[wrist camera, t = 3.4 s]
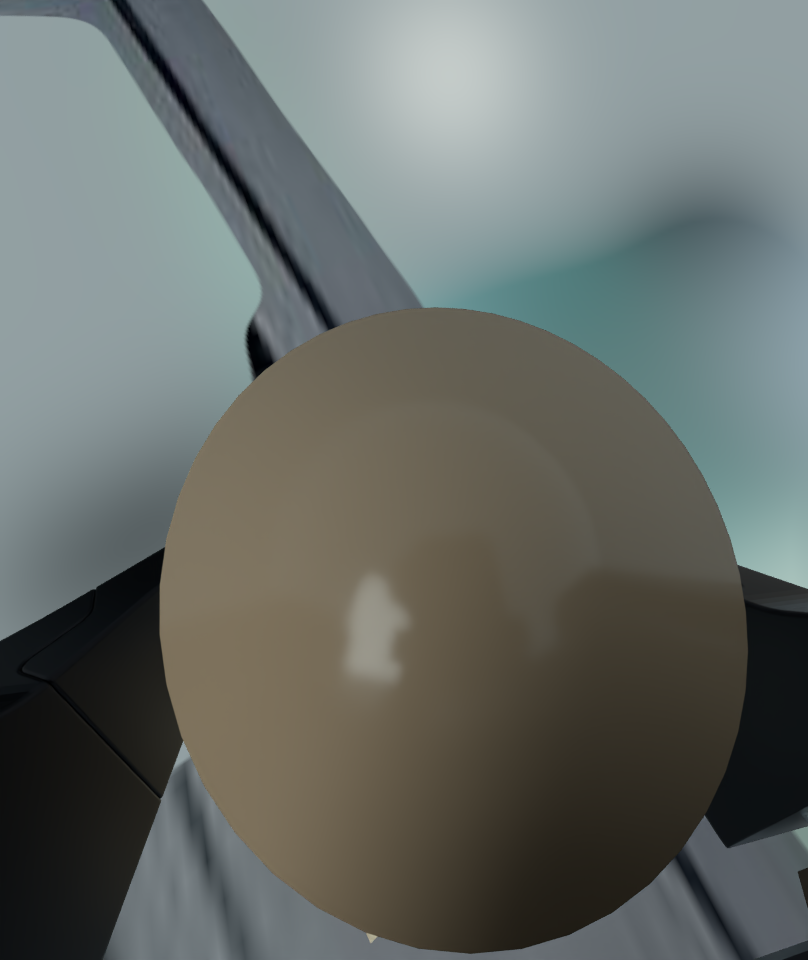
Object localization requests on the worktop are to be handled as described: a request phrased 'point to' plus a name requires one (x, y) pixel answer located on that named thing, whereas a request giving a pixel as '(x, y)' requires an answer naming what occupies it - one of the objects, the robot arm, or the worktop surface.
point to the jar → (453, 630)
